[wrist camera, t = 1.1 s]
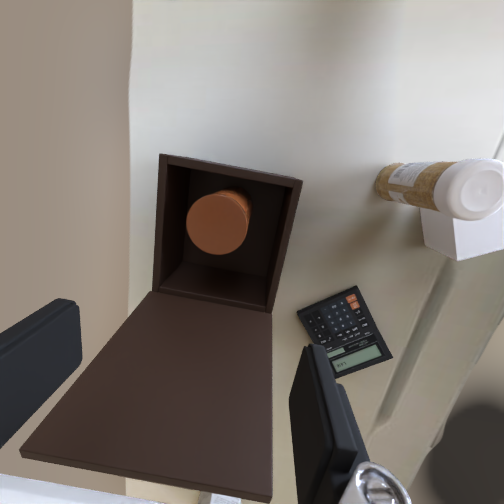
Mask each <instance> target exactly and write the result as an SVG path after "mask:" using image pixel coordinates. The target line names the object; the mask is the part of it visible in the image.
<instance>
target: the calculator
mask: <svg viewBox="0 0 504 504" xmlns="http://www.w3.org/2000/svg"><path fill="white" fill-rule="evenodd" d="M297 315H298V316H299V318H300V320H301V322H302V323H303V325H304V327H305V329H306V330H307V332H308V334H309V336H310V338H311V339H312V341H313V343H314V344H316V345H322V346H324V347H325V350H326V353H327V356H328V359H329V362H330V365H331V369H332V372H333V375H334V378H335V379H336V378H339V377H342V376H345V375H347V374H350V373H353V372H356V371H358V370H361V369H364V368H367V367H369V366H372V365H375V364H378V363H380V362H383V361H386V360H389V359H391V358H393V356H392V354H391V353H390V351H389V349H388V347H387V345H386V343H385V341H384V340H383V338H382V336H381V334H380V332H379V330H378V328H377V326H376V324H375V322H374V320H373V318H372V316H371V314H370V312H369V309H368V307H367V305H366V303H365V301H364V299H363V297H362V295H361V293H360V290H359V288H358V287H357V286H354V287H352V288H350V289H347V290H345V291H343V292H340V293H338V294H336V295H334V296H331V297H329V298H327V299H324V300H322V301H320V302H317V303H315V304H313V305H311V306H308V307H306V308H304V309H301V310H299V311H297Z"/></svg>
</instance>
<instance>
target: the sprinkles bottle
mask: <svg viewBox="0 0 504 504" xmlns="http://www.w3.org/2000/svg"><path fill="white" fill-rule="evenodd" d="M376 190H377V192H378V194H379V195H380V197H382V198H383V199H385V200H389V201H397V202H399V203H403V204H407V205H412V206H416V207H420V208H425V209H431V210H435V211H439V212H441V213H442V214H444V215H446V216H449V217H452V218H456V219H460V220H465V221H477V220H481V219H484V218H487V217H489V216H491V215H492V214H494V213H495V212H497V211H498V210H499V209H500V208H501V207H502V206H503V205H504V163H502V162H501V161H498V160H496V159H488V158H485V159H466V160H462V161H459V162H443V161H442V162H420V163H408V164H403V163H394V164H391V165H389V166H387V167H385V168H384V169H383V170H382V171H381V172H380V173H379V175H378V177H377V180H376Z"/></svg>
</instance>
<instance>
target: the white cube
mask: <svg viewBox="0 0 504 504" xmlns="http://www.w3.org/2000/svg"><path fill="white" fill-rule="evenodd" d="M419 208H420V207H419ZM420 215H421V222H422V229H423V236H424V243H425V246H427V247H429V248H431V249H433V250H435V251H437V252H439V253H441V254H443V255H445V256H447V257H450V258H452V259H454V260H456V261H460V260H464V259H468V258H472V257H475V256H479V255H483V254H487V253H490V252H494V251H498V250H502V249H504V205H503V206H502V207H501V208H500V209H499V210H498V211H497V212H495V213H494V214H492V215H491V216H489V217H487V218H484V219H481V220H477V221H465V220H460V219H456V218H452V217H449V216H446V215H444V214H442V213H441V212H439V211H435V210H431V209H425V208H420Z"/></svg>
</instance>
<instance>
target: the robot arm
mask: <svg viewBox="0 0 504 504" xmlns="http://www.w3.org/2000/svg"><path fill="white" fill-rule="evenodd" d="M79 313H80V312H79V306H78V305H76V303H75V301H72V300H67V299H61V298H58V299H55V300H54V301H52V302H51V303H49V304H47V305H46V306H44V307H43V308H41V309H39V310H38V311H36V312H34V313H33V314H31V315H29V316H28V317H26V318H25V319H23V320H22V321H20V322H18V323H16V324H15V325H13V326H12V327H10V328H8V329H7V330H5V331H3V332H2V333H0V449H1V448H2V446H3V445H4V444H5V443H6V442H7V441H8V440H9V439H10V438H11V437H12V436H13V435H14V434H15V433H16V431H18V430H19V429H20V428H21V427H22V425H23V424H24V423H25V422H26V421H27V420H28V419H29V418H30V417H31V416H32V415H33V414H34V413H35V412H36V411H37V410H38V409H39V408H40V407H41V406H42V404H43V403H44V402H45V401H46V400H47V399H48V398H49V397H50V396H51V395H52V394H53V393H54V392H55V391H56V390H57V389H58V388H59V387H60V386H61V384H62V383H63V382H64V381H65V380H66V379H67V378H68V377H69V376H70V375H71V374H72V373H73V372H74V371H75V370H76V369H77V368H78V367H79V365H80V364H81V361H82V342H81V327H80V314H79ZM289 411H290V422H291V433H292V444H293V454H294V465H295V476H296V487H297V498H298V504H412V503H411V500H410V498H409V496H408V494H407V492H406V490H405V488H404V487H403V485H402V484H401V483H400V481H399V480H398V479H397V478H396V477H395V476H394V475H393V474H392V473H391V472H390V471H389V470H387V469H386V468H385V467H383V466H382V465H379V464H377V463H374V462H370V459H369V456H368V454H367V451H366V448H365V445H364V442H363V439H362V437H361V434H360V431H359V428H358V425H357V422H356V420H355V417H354V414H353V411H352V408H351V405H350V403H349V400H348V397H347V394H346V391H345V389H344V387H343V386H342V385H341V384H337V383H336V381H335V378H334V375H333V372H332V369H331V365H330V362H329V359H328V356H327V353H326V350H325V347H324V346H322V345H316V344H311V343H310V344H309V345H308V347H307V346H304V348H303V351H302V354H301V358H300V361H299V364H298V368H297V371H296V375H295V378H294V382H293V385H292V388H291V392H290V396H289ZM0 504H166V503H161V502H156V501H150V500H145V499H140V498H134V497H129V496H123V495H118V494H112V493H107V492H101V491H96V490H89V489H84V488H79V487H73V486H68V485H62V484H57V483H50V482H45V481H40V480H34V479H28V478H23V477H17V476H11V475H5V474H0Z"/></svg>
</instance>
